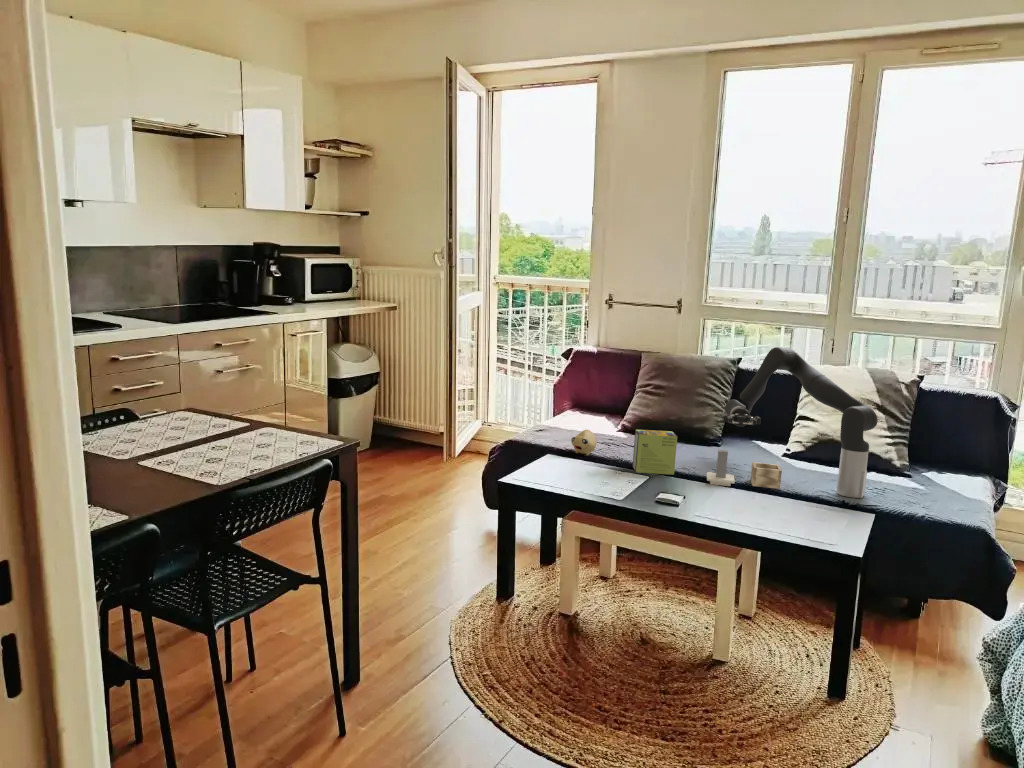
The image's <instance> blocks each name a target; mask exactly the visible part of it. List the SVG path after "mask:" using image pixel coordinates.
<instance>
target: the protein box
mask: <svg viewBox="0 0 1024 768" xmlns="http://www.w3.org/2000/svg"><path fill="white" fill-rule="evenodd" d="M677 444H678V435H677V434H676V433H675V432H673V431H669V430H652V429H651V430H650V429H635V430H634V441H633V455H632V457H633V458H632V468H633V470H634V472H635V473H637V474H638V473H641V474H655V475H656V474H657V475H672V476H673V475H675V470H676V469H675V468H676V457H677V447H678V445H677Z"/></svg>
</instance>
